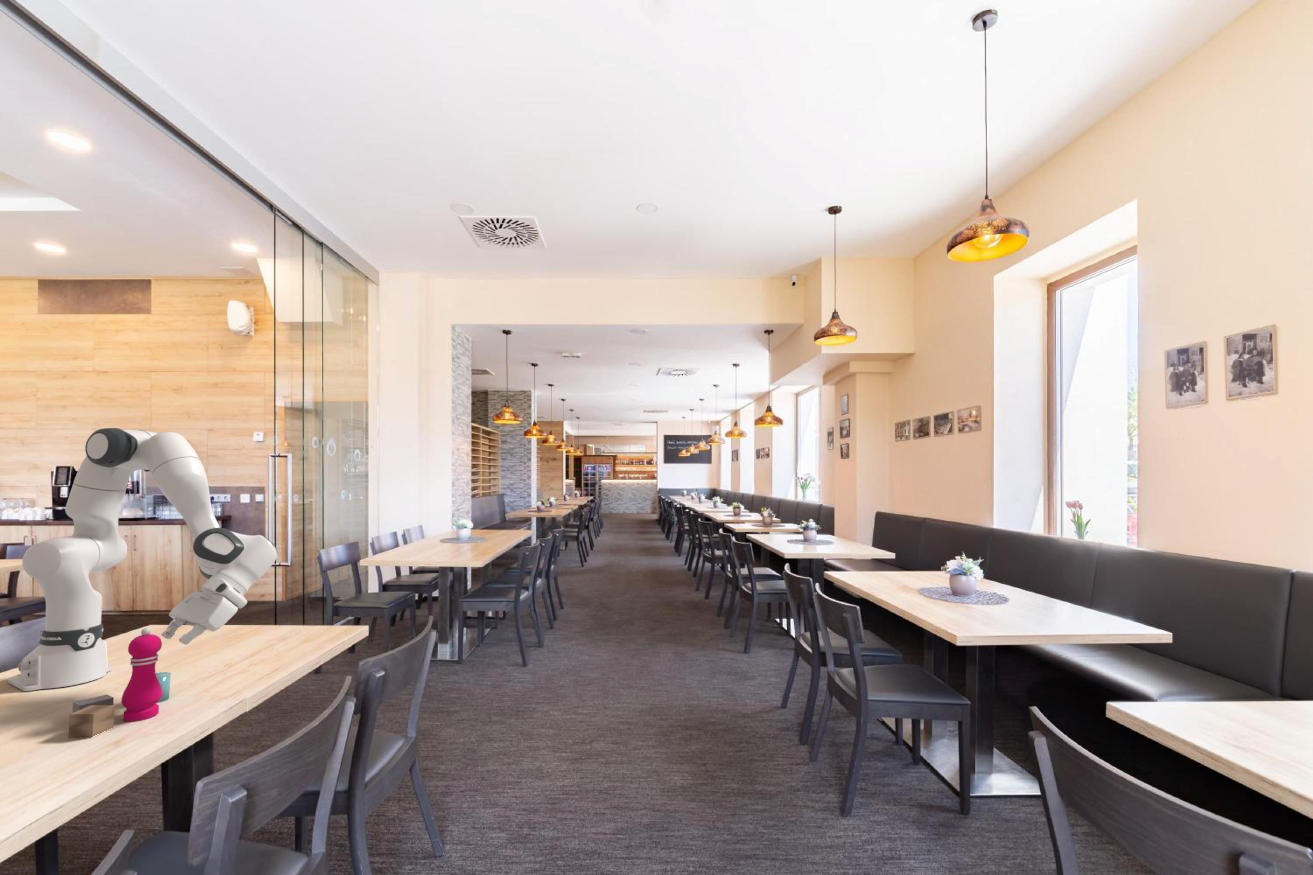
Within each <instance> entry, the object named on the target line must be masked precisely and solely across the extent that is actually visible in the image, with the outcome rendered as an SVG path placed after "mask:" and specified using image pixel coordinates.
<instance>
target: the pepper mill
mask: <svg viewBox="0 0 1313 875" xmlns="http://www.w3.org/2000/svg"><path fill="white" fill-rule="evenodd" d="M140 632H141V635H139V636H136V637H134V638H133V639H132V640H130V643H128V646H127V647H128V648H127V652H128V653H129V655H130V656H131V658H130V659H129V660H130V662H129V664H130V665H129V666H131V667H132V668H131V669H132V671H131V677H130V679H129V682H128V684H127V685H126V687H125V689H124V690H123V693H122V696H121V701H120V702H121V705H122V706H123V707H124V708H125V710H124V711H123V713H122V715H123V717H122V720H123V721H124V722H129V723H131V722H139V721H145V720H148V719H151V718H153V717H156V716H157V715H158V714H159V713H160V712H159V710H160V705H159V704H158V703H157V702H158V701H159V700H160V699H161V697H162V687H161V685H160V683H159V681H158V679H157V677H156V673H157V672H156V663H157V662H158V661H159V654H158V652H160V650H161V649H162V646H163V645H162V644H163V642H162V638H160V636H158V635H156V634H151V632H152V630H151V628H149V627H145V628H143V629H141V631H140Z"/></svg>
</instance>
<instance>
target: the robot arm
mask: <svg viewBox="0 0 1313 875" xmlns="http://www.w3.org/2000/svg"><path fill="white" fill-rule="evenodd" d="M84 449H85V450H84V451H85V454H86V455H85V457H84V459H83V460H82V462H81V464H80V466H79V468H78V470H77V471H76V472H77V473H76V476H75V477H74V480H73V482H72V483H73V484H72V487H71V490H70V492H69V496H68V499H67V502H66V505H65V508H64V509H65V510H64V511H65V514H66V515H67V517H69V518H70V519H72V521H73V534H72V535H69V536H67V535H65V536H59V537H52V538H49V539H46V540H43V541H39V542H37V543H35V544H33V545H31V546H30V547H28V549H26V551H25V552H24V554H23V556H22V559H21V560H22V567H23V570H24V572H25V573H26V574H27V575H28V576H29V577H31V578H33V580H35V581H36V582H38V584H39V586H40V587H41V590H42V593H43V595H44V599H45V601H44V602H45V622H44V630H42V631H41V630H40V633H41V634H39V636H40V638H39V642H38V644H39V645H37V646H36V647H35V648H34V649H33V650H31V652H30V653H28V654H27V655H26V656H24V657H23V658H22V660H21V661H20V662H19V663H18V669H17V670H18V671H19V672H20V674H19V673H18V674H16V675H13V676H11V677H8V678H7V683H8V684H10V685H11V686H14V687H15V688H18V689H19V690H21V691H23V692H31V691H37V690H44V689H57V688H62V687H70V686H75V685H80V684H84V683H88V682H91V681H96V680H98V679H100V678H103V677H104V676H106V675H107V673H109V672H110V671H112V670H113V666H112V665H108V649H107V648H108V647H107V642H106V641H105V640H103V639H102V638H103V632H104V624H103V623H102V614H103V613H102V612H103V611H102V610H103V595H102V594H101V592H99V591H98V590H95V588H93V586H92V584H91V581H90V574H93V573H99V572H104V571H106V570H109V569H111V568H113V567H116V566H117V565H119V564H121V563H122V562H123V561H124V560H125V558H126V557H127V554H128V545H127V542H126V540H125V539H124V538H123V537H121V534H120V529H119V518H120V517H119V516H120V511H121V508H122V505H123V502H124V497H125V494H126V491H127V487H128V484H129V479H130V477H131V475H132V474H133V473H134V472H136V471H141V470H142V471H144V472H149V473H150V475H151V477H152V479H153V480H154V482H155V484H156V485H157V486H156V487H158V489H159V490H160V491H161V493H162V494H163V495H164V497H165V499H167V500H168V502H169V503H170V504H171V505H172V506H173V507H174V508H175V510H176V511H177V512H178V514H179V515H180V516H181V517H182V519H183V520H184V522H185V523H186V525H187V527H188V529H189V531H190V533H191V534H192V537H193V543H192V549H193V550H192V551H193V554H194V558H195V560H196V562H197V565H198V569H199V572H200V573H201V574H200V575H202V576H203V578H206V579H207V580H206V581H205V582H204V583H202V585H200V590H199V591H193V592H191V593H190V594H188V595H187V596H186V597H185V598H183V599H182V600H180V602H179V603H178V604H176V606H174V607H173V608H172V609H171V610H170V612H169V613H168V616H169V617H170V618H172V620H171V621H170V623H169V624H168V625H167V628H166V629H165V630H164V631H163V632H162V633H161V637H162V638H164V639H167V640H170V639H171V638H172V637H174V636H175V635H176V632H177V631H178V628H181V627H182V626H183V625H187V626H191V627H192V629H190V630H189V631H188V632H187V633H184V634H183V635H182V636H181V637H179V639H178V641H179V643H181V644H183V645H186V646H187V645H189V644H190V643H191V642H192V640H194V639H196V638H197V637H199V636H200V635H202V634H203V633H204V632H206V631H208V632H209V631H210V632H212V633H213V632H215V631H218V630H219V629H221V628H222V627H223V626H224V625H225V624H227V623H228V621H230V619H232V618H233V616H235V615H236V613H237V612H238V610H239V609H242V608H244V607H245V606H246V605H247V604H248V600H247V599H246V597H245V595H246V594H247V593H248V592H249V589H251V587H252V585H253V584H255V583H256V582H257V581H259V580H260V579H261V578H262V577H263V576H264V575H265V574H266V573H267V572H268V570H270V569H271V567H272V566H273V565H274V563H275V562H276V560H277V559H278V549H277V547H276V546H275V545H274V543H273V542H272V541H271V540H270V539H269V538H267V537H266V536H264V535H261V534H256V535H255V534H254V535H250V534H249V535H248V534H243V533H239V532H234V531H231V530H229V529H227V528H223V527H220V524H219V523H218V521H217V518H216V516H215V514H214V512H213V511H214V510H213V508H212V503H211V496H210V494H211V493H210V487H209V480H208V476H207V472H206V469H205V467H204V465H203V462H202V461H201V459H200V457H199V455H198V453H197V451H195V449H194V448H193V445H191V443H190V442H189V441H188V440H187V439H186V437H184V436H183V435H182V434H180V433H177V432H173V431H163V432H160V433H159V432H154V431H151V430H144V429H137V430H136V429H127V428H126V429H125V428H122V429H121V428H118V427H106V428H100V429H97V430H95V431H93V432H92V433H91V434H90V436H89V437H88V438H87V440H86V442H85V448H84Z"/></svg>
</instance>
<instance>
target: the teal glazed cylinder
mask: <svg viewBox="0 0 1313 875" xmlns="http://www.w3.org/2000/svg"><path fill="white" fill-rule="evenodd" d="M155 673H156V677H157V679H158V681H159V683H160V685H161V687H162V697H161V699H160V700H159V701H158V702H157V703H156V704H158V703H162V702H165V701H167V700H169V699H170V693H171V692H170V689H171V675H172V674H171V672H169V671H168V672H167V671H163V672H155Z"/></svg>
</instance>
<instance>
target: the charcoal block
mask: <svg viewBox="0 0 1313 875" xmlns="http://www.w3.org/2000/svg"><path fill="white" fill-rule="evenodd" d="M114 700H115V699H114V697H113V696H111V695H109V694H103V695H99V696H94V697H90V698H86V699H81V700H77V701H73V702H72V712H71V713H74V712H76V711H79V710H81V709H83V708H86V707H88V706H91V705H114Z"/></svg>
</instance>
